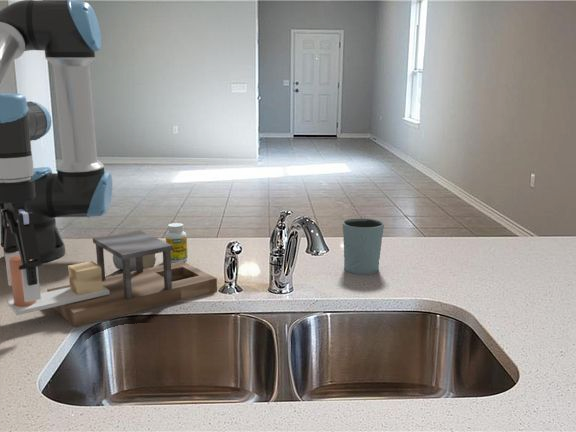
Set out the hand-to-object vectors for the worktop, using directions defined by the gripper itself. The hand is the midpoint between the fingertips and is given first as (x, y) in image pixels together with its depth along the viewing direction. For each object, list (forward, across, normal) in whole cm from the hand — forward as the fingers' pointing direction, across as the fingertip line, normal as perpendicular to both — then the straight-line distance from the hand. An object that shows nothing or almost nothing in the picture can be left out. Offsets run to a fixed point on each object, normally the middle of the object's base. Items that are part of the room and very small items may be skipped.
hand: (24, 291), depth 114 cm
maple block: (+2, 0, +12) cm, 12 cm away
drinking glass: (+7, +17, +76) cm, 78 cm away
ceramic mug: (+7, -18, +31) cm, 37 cm away
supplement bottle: (+7, -18, +42) cm, 47 cm away
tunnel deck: (+6, 0, +22) cm, 23 cm away
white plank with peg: (+3, 0, +7) cm, 7 cm away
